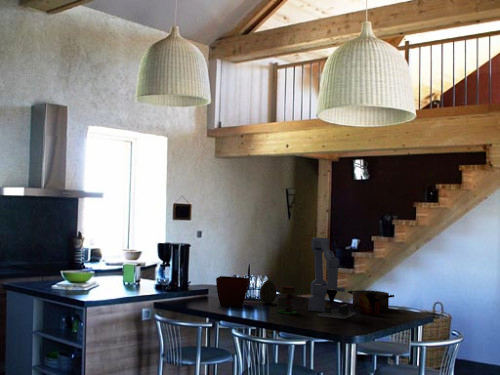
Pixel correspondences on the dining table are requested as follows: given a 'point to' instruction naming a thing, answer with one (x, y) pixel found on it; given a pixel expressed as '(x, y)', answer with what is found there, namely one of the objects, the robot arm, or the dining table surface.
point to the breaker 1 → (342, 309)
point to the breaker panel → (337, 314)
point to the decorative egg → (268, 292)
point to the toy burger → (286, 300)
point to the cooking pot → (381, 296)
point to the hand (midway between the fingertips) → (331, 303)
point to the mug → (368, 304)
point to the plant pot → (232, 290)
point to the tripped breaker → (327, 309)
